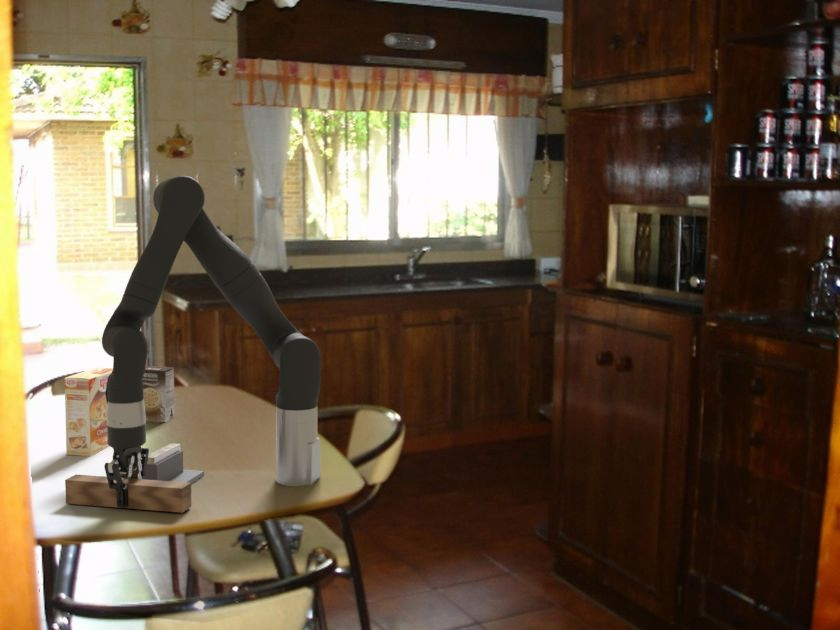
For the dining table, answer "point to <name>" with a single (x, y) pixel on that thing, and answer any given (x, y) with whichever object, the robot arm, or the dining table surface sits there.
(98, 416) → the coffeecake box
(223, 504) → the dining table surface
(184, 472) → the fulcrum
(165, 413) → the coffee box
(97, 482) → the batten
